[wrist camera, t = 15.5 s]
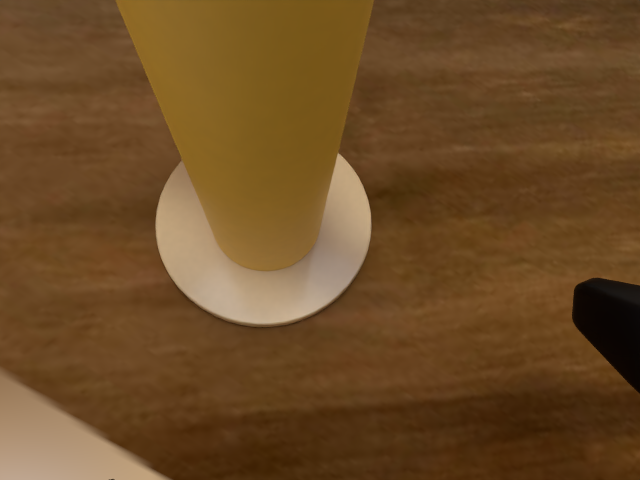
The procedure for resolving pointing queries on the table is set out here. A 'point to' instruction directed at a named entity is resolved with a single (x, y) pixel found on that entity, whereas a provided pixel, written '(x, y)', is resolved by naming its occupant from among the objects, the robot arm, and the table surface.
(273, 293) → the disc
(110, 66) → the table surface
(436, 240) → the table surface
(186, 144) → the yellow cylinder
